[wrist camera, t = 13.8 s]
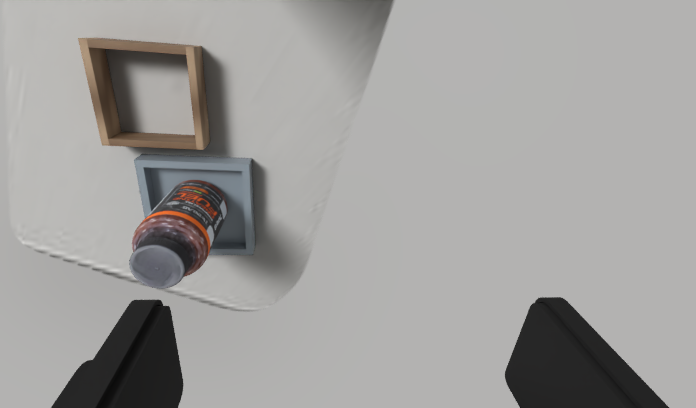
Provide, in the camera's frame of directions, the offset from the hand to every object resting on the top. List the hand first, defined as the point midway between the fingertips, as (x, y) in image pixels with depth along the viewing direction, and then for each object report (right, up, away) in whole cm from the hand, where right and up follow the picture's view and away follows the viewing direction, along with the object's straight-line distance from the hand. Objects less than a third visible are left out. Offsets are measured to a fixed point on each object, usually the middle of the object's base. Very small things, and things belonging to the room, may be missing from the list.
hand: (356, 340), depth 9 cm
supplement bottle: (-16, +4, +28) cm, 32 cm away
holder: (-18, +14, +23) cm, 32 cm away
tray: (-16, +4, +28) cm, 32 cm away
